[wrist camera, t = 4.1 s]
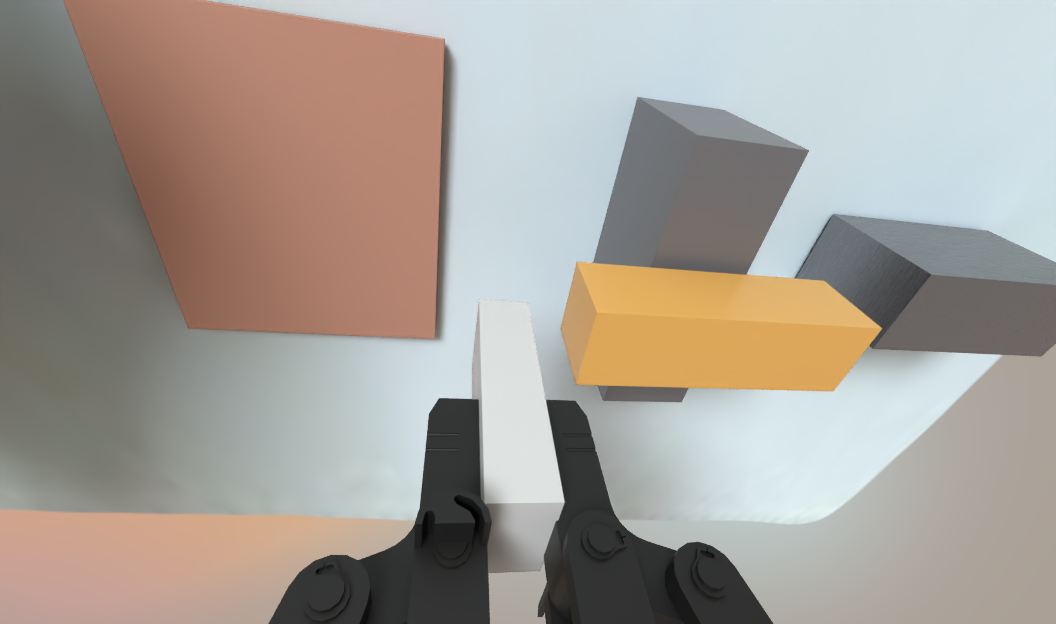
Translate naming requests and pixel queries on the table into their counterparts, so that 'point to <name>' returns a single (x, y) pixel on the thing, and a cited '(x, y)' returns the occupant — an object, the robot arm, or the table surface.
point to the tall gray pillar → (693, 199)
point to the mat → (278, 161)
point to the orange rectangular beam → (709, 330)
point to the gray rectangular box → (939, 286)
